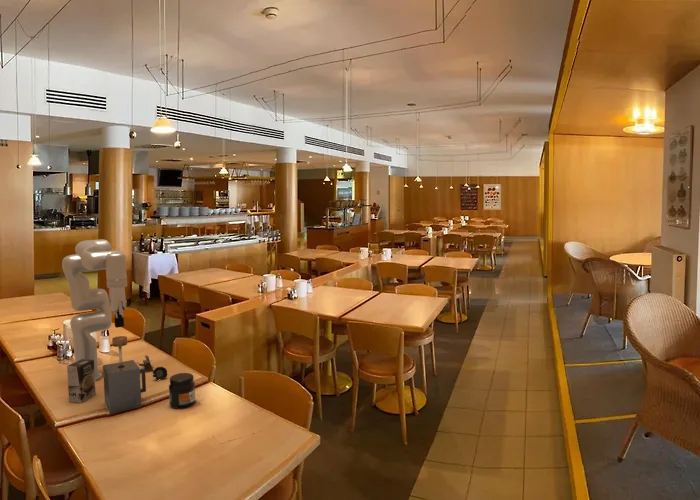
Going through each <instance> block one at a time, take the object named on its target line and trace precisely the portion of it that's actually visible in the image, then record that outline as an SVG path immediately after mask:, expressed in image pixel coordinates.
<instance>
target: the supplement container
mask: <svg viewBox="0 0 700 500" xmlns="http://www.w3.org/2000/svg"><path fill="white" fill-rule="evenodd" d="M195 387H196V383H195V381H194V375H193V374H192V373H190V372H189V373H187V372H180V373H176V374H173V375H171V376H170V377H169V385H168V391H169V392H168V396H169V397H168V398H169V401H168V402H169V405H170V407H172V408H174V409H186V408H190V407H192V406H193V405H194V404H195V402H196V390H195Z"/></svg>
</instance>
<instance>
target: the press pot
mask: <svg viewBox="0 0 700 500" xmlns="http://www.w3.org/2000/svg"><path fill="white" fill-rule="evenodd" d="M122 363H123V367H122V368H120V366H119V362H114V363H108V364H103V365H102V377H103V389H104V391H103V392H104V404H106V405H105V407H106V406H107V407H106V409H107V408H108V409H107V410H109V411H108V413H109V414H110V415H112V414H116V413H119V412H123V411H124V412H125V411H128V410H133V409H137V408H142V394H143V393H146V392H147V386H146V385H147V384H146V368H143V369H141V368H140V366H139V364H137V362H136V361H135V360H134V359H132V360H131V359H130V360H126V361H122Z"/></svg>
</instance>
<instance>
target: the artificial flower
mask: <svg viewBox="0 0 700 500" xmlns="http://www.w3.org/2000/svg"><path fill="white" fill-rule="evenodd" d="M152 361H153V359H150V356H148V355H147V354H146V355H145V357H144V359H142V363H140V362H139V361H137V362H136V364H137V365H138V367H141V368H140V369H143V368H144V369H147V370H148V371H151V372H152V377H153V378H155V381H157V380H159V379H163V378H164V379H163V380H165V379H166V378H167V377H168V374H169V373H168V370H167V367H166V368H165V367H164V366H159V367H155V369H154V368H153V366H152V364H151V362H152ZM159 381H160V380H159Z"/></svg>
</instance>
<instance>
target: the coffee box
mask: <svg viewBox="0 0 700 500" xmlns="http://www.w3.org/2000/svg"><path fill="white" fill-rule="evenodd" d="M66 368H67V370H66V371H67V385H68V386H67V389H68V390H67V391H68V402H70V403H71V402H72V403H79V404H82V403H84V402H85V401H87V400H88V399H91V398H93V397H94V396H95V395H96V380H95V373H94V360H89V359H81V360H79V361H77V362H75V361H74V362H73V363H70V364H68V365H67V366H66Z"/></svg>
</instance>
